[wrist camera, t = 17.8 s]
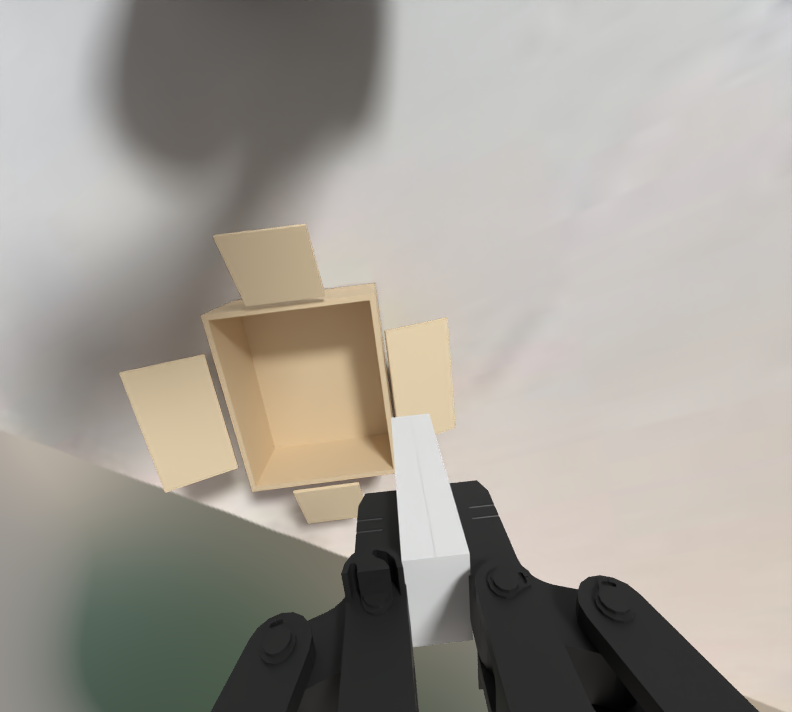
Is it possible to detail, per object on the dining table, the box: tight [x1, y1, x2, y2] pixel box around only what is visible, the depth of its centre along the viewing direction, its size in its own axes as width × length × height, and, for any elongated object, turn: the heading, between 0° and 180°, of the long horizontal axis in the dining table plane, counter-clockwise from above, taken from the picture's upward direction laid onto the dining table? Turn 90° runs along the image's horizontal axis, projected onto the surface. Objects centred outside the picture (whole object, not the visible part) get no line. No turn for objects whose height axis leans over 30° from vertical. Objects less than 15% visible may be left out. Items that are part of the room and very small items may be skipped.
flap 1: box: [119, 354, 238, 492], centre depth 39 cm, size 14×8×1 cm, turn 7°
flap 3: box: [293, 482, 363, 524], centre depth 47 cm, size 8×8×1 cm
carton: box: [201, 283, 395, 492], centre depth 45 cm, size 22×18×9 cm
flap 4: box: [384, 318, 456, 435], centre depth 42 cm, size 14×8×1 cm, turn 7°
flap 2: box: [213, 224, 325, 306], centre depth 34 cm, size 8×8×1 cm
